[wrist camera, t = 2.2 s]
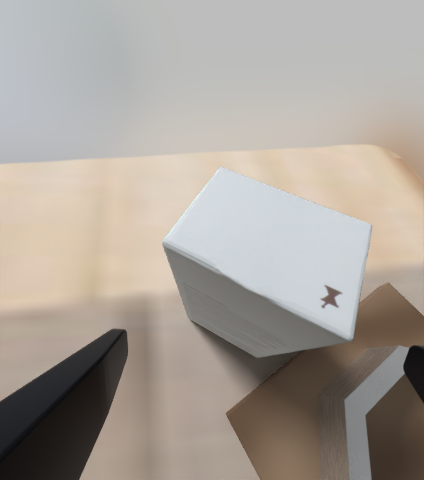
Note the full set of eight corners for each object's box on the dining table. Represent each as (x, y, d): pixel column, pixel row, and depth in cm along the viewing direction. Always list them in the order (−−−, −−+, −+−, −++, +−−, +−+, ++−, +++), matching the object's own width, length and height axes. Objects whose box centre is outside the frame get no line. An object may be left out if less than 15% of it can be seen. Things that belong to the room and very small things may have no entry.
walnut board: (619, 521, 12) (650, 533, 11) (478, 891, 8) (513, 957, 7) (380, 286, 19) (388, 282, 18) (225, 413, 14) (227, 416, 13)
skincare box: (277, 306, 18) (382, 224, 7) (257, 359, 16) (360, 351, 5) (211, 272, 19) (219, 160, 9) (185, 317, 17) (155, 245, 7)
